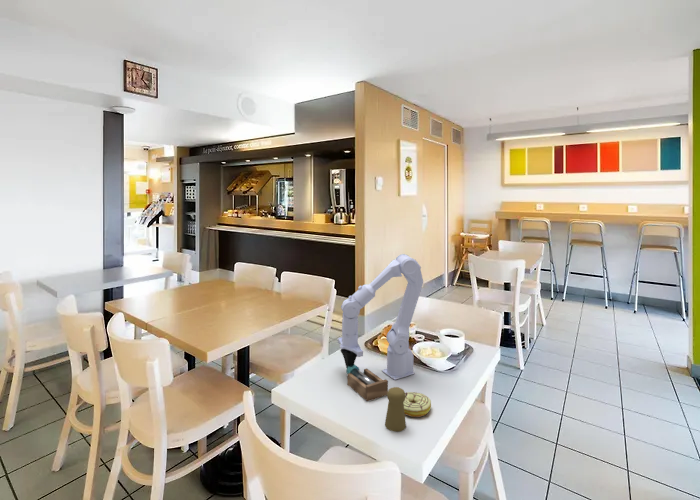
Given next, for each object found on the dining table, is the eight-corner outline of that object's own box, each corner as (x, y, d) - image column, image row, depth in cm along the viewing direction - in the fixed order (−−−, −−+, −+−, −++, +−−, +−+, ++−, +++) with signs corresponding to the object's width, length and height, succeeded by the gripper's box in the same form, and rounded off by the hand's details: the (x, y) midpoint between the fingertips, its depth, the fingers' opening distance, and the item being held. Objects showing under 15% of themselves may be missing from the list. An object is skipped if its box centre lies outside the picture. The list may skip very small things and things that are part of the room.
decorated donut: (401, 397, 124) (401, 386, 124) (434, 405, 120) (434, 394, 119) (391, 413, 115) (391, 401, 114) (425, 422, 110) (426, 410, 110)
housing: (347, 384, 131) (347, 371, 131) (366, 378, 136) (366, 365, 135) (367, 401, 121) (367, 387, 120) (387, 395, 125) (388, 380, 124)
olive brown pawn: (405, 433, 105) (406, 396, 103) (383, 430, 106) (384, 393, 105) (406, 420, 111) (407, 385, 109) (386, 417, 112) (386, 383, 110)
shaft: (346, 377, 136) (346, 365, 135) (356, 374, 138) (356, 362, 137) (368, 395, 123) (368, 382, 123) (379, 392, 126) (380, 379, 125)
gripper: (330, 328, 140) (330, 363, 142) (350, 341, 127) (350, 379, 129) (347, 325, 143) (346, 358, 145) (368, 337, 131) (367, 374, 133)
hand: (349, 368), depth 137 cm, fingers closed
